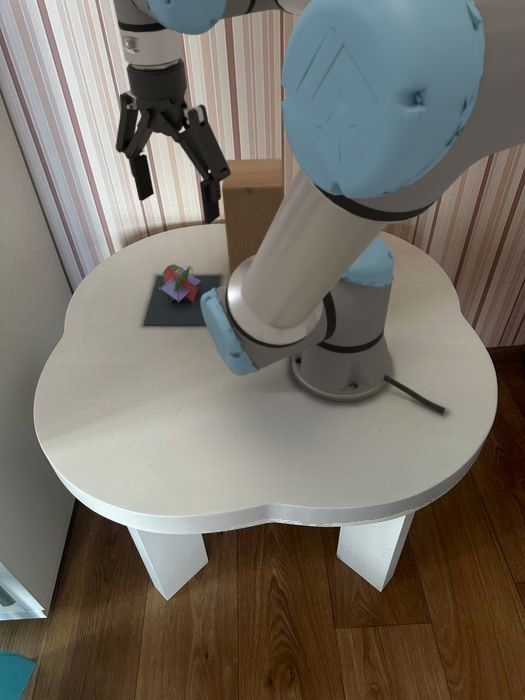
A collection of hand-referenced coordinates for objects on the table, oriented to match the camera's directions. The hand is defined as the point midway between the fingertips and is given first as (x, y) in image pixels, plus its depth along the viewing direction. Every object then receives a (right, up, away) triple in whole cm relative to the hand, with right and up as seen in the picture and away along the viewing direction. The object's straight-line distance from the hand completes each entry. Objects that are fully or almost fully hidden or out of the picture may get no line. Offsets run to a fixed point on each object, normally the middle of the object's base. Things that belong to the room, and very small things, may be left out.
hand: (178, 208), depth 88 cm
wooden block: (+12, -7, +21) cm, 25 cm away
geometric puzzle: (-1, -13, +15) cm, 20 cm away
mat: (-1, -13, +15) cm, 20 cm away
